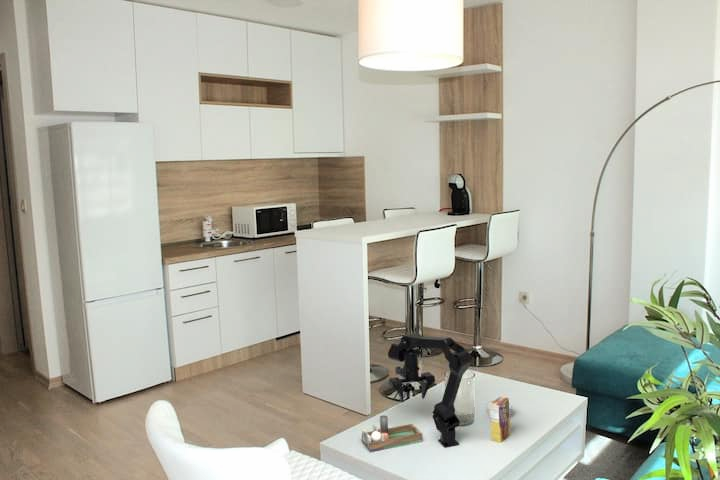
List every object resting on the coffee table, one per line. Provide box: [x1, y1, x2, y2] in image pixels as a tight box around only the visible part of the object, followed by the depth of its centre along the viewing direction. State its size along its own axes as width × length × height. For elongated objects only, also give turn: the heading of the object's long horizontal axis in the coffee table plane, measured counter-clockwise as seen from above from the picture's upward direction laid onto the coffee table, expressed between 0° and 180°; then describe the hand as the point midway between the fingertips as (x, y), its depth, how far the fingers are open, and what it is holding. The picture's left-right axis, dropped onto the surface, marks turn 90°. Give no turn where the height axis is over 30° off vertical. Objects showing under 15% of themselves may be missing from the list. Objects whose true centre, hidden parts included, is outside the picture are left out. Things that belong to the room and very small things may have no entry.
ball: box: [371, 431, 381, 442], centre depth 240 cm, size 4×4×4 cm
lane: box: [361, 423, 423, 453], centre depth 242 cm, size 10×22×6 cm, turn 108°
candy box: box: [490, 396, 511, 443], centre depth 240 cm, size 9×4×15 cm, turn 140°
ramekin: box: [485, 399, 513, 419], centre depth 261 cm, size 11×11×5 cm
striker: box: [377, 415, 389, 440], centre depth 240 cm, size 7×3×10 cm, turn 18°
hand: (412, 400), depth 250 cm, fingers open, 9 cm apart
